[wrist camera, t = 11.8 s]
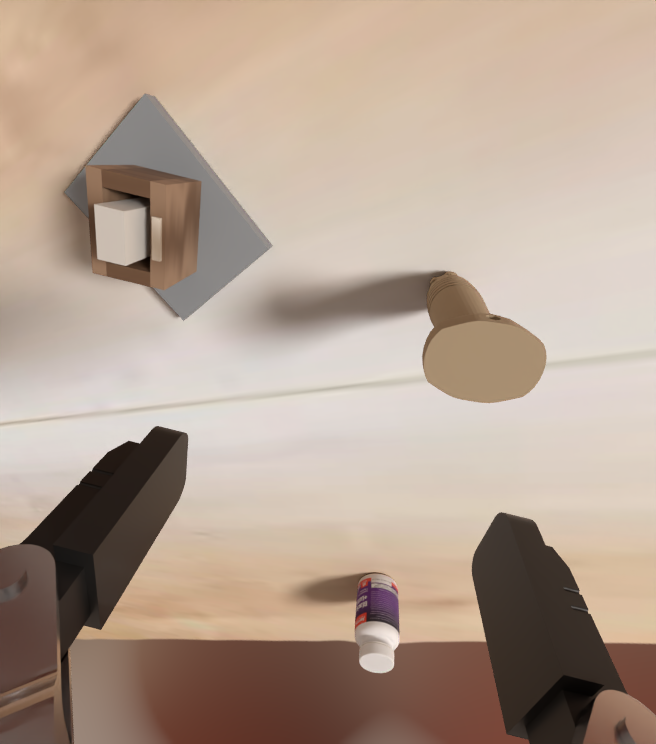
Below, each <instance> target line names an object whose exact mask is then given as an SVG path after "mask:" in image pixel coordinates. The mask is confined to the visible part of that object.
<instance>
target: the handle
mask: <svg viewBox="0 0 656 744" xmlns="http://www.w3.org/2000/svg"><path fill="white" fill-rule="evenodd" d="M427 308H428V313H429V316H430V319H431V322H432V324H433V326H434V328H433V330H432V331H431V332H430V334H429V336H428V337H427V339H426V342H425V345H424V349H423V356H422V357H423V369H424V373H425V376H426V379H427V381H428V382H429V383H430V384H432V385H433V386H435V387H436V388H438V389H440V390H441V391H443V392H444V393H446V394H448V395H450V396H452V397H454V398H458V399H462V400H468V401H474V402H482V403H494V402H501V401H506V400H511V399H515V398H520V397H523V396H525V395H526V394H527V393H529V392H530V391H531V390H532V389H533V388H534V387H535V385H536V384H537V383H538V381H539V380H540V378H541V376H542V374H543V371H544V368H545V365H546V350H545V347H544V344H543V343H542V342H541V341H540V340H539V339H538V338H537V337H536V336H534V335H533V334H532V333H530V332H529V331H528V330H526V329H525V328H523V327H522V326H520V325H519V324H517V323H515V322H514V321H512V320H510V319H507V318H504V317H501V316H497V315H493V314H490V313H489V311H488V309H487V307H486V305H485V302H484V300H483V298H482V297H481V295H480V294H479V292H478V291H477V290H476V289H475V287H474V286H473V285H471V284H470V283H469V282H468V281H467V280H465V279H464V278H462V277H459V276H457V274H456V273H454V272H450V271H448V272H446V273H445V274H444V275H442V276H439V277H433V278H432V279H431V281H430V288H429V291H428V293H427Z"/></svg>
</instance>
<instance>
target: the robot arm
mask: <svg viewBox="0 0 656 744" xmlns="http://www.w3.org/2000/svg"><path fill="white" fill-rule="evenodd" d="M187 449H188V435H187V433H184V432H180V431H176V430H172V429H168V428H164V427H160V426H156V427H154V428H153V429H152V430H151V431H150V433H149V434H148V435H147V436H146V437H145V438H144V439H143V441H142V442H141V443H140V444H139V443H135V442H131V441H128V442H126V443H124V444H122V445H120V446H119V447H117V448H115V449H113V450H111V451H109V452H108V453H107V454H106V455H105V456H104V457H103V458H102V459H101V460H100V461H99V462H98V463H97V464H96V465H95V466H94V468H93V470H92V472H91V471H90V472H89V473H88V474H87V475H86V476H85V477H84V478H83V479H82V480H81V481H80V484H79V485H76V487H75V488H74V489H73V490H72V491H71V492H70V493H69V494H68V495H67V496H66V497H65V498H64V499H63V500H62V501H61V502H60V503H59V504H58V506H57V507H56V508H55V509H54V510H53V511H52V512H51V513H50V514H49V515H48V516H47V517H46V518H45V519H44V520H43V521H42V522H41V524H40V525H39V526H38V527H37V528H36V529H35V530H34V531H33V532H32V533H31V534H30V535H29V536H28V537H27V538H26V539H25V540H24V541H23V542H22V543H20V544H19V545H13V546H8V547H5V548H2V549H0V744H74V729H73V707H72V684H71V660H70V646H71V644H72V643H73V641H74V640H75V638H76V637H77V635H78V633H79V632H80V630H81V629H82V627H83V626H88V627H92V628H96V629H100V630H101V629H102V627H103V626H104V624H105V622H106V621H107V619H108V617H109V616H110V614H111V612H112V611H113V609H114V607H115V606H116V604H117V602H118V601H119V599H120V597H121V596H122V594H123V592H124V591H125V589H126V587H127V586H128V584H129V582H130V581H131V579H132V577H133V576H134V574H135V572H136V571H137V569H138V567H139V566H140V564H141V562H142V561H143V559H144V557H145V556H146V554H147V552H148V551H149V549H150V547H151V546H152V544H153V542H154V541H155V539H156V537H157V536H158V534H159V533H160V531H161V529H162V528H163V526H164V524H165V523H166V521H167V519H168V518H169V516H170V514H171V513H172V511H173V509H174V508H175V506H176V504H177V503H178V501H179V499H180V496H181V494H182V491H183V488H184V485H185V480H186V467H187ZM472 576H473V581H474V586H475V590H476V595H477V600H478V604H479V609H480V614H481V618H482V623H483V627H484V632H485V637H486V641H487V646H488V650H489V655H490V659H491V664H492V668H493V673H494V678H495V683H496V687H497V691H498V696H499V701H500V705H501V710H502V714H503V719H504V724H505V728H506V733H507V734H508V735H512V736H516V737H520V738H524V739H528V740H529V743H530V744H656V716H655V715H654V714H653V713H652V712H651V711H650V710H649V709H648V708H647V707H645V706H644V705H643V704H642V703H640V702H639V701H638V700H636V699H634V698H633V697H631V696H629V695H628V694H627V692H626V690H625V688H624V686H623V684H622V682H621V680H620V678H619V675H618V673H617V671H616V669H615V666H614V664H613V662H612V660H611V658H610V656H609V653H608V651H607V649H606V647H605V645H604V643H603V640H602V638H601V636H600V634H599V632H598V629H597V627H596V625H595V623H594V621H593V619H592V616H591V614H588V608H587V606H586V603H585V601H584V599H583V597H582V595H580V594H579V591H580V590H579V588H578V586H577V584H576V582H575V579H574V577H573V575H572V573H571V571H570V569H569V567H568V566H567V565H566V564H565V562H564V561H563V560H562V559H561V557H560V556H559V555H558V554H557V552H556V551H555V550H554V549H553V547H550V546H546V545H545V543H544V541H543V538H542V536H541V534H540V531H539V529H538V527H537V525H536V523H535V522H534V521H533V520H531V519H527V518H523V517H519V516H515V515H511V514H507V513H502V512H501V513H499V514H497V515H496V517H495V518H494V520H493V522H492V523H491V525H490V527H489V529H488V530H487V532H486V534H485V535H484V537H483V539H482V541H481V542H480V544H479V546H478V547H477V549H476V551H475V553H474V557H473V562H472Z"/></svg>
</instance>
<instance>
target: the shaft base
mask: <svg viewBox="0 0 656 744" xmlns="http://www.w3.org/2000/svg"><path fill="white" fill-rule="evenodd" d="M87 165H137V166H141V167H145V168H149V169H153V170H157V171H162V172H166V173H170V174H174V175H178V176H182V177H186V178H190V179H195V180H199V181H202V183H201V201H200V219H199V237H198V255H197V271H196V272H195V273H193V274H191V275H190V276H188V277H186V278H185V279H183V280H181V281H179V282H178V283H176V284H174V285H173V286H171V287H169V288H167V289H166V290H161V289H157V288H154V289H155V291H156V292H157V293H158V294H159V295H160V296H161V297H162V298H163V299H164V300H165V301H166V302H167V303H168V305H169V306H170V307H171V308H172V309H173V310H174V311H175V312H176V313H177V314H178V315H179V316H180V317H181V319H182V320H183V321H184V320H185V319H186V318H187V317H189V316H190V315H191V314H192V313H194V312H195V311H196V310H197V309H198V308H200V307H201V306H202V305H203V304H204V303H205V302H207V301H208V300H209V299H210V298H211V297H213V296H214V295H215V294H216V293H217V292H219V291H220V290H221V289H222V288H223V287H224V286H226V285H227V284H228V283H229V282H230V281H232V280H233V279H234V278H235V277H236V276H238V275H239V274H240V273H241V272H242V271H243V270H245V269H246V268H247V267H248V266H249V265H251V264H252V263H253V262H254V261H255V260H257V259H258V258H259V257H260V256H261V255H262V254H264V253H265V252H266V251H267V250H268V249H270V248H271V247H272V244H271V243H270V242H269V241H268V239H267V238H266V237H265V236H264V234H263V233H262V232H261V231H260V229H259V228H258V227H257V225H256V224H255V223H254V222H253V220H252V219H251V218H250V217H249V215H248V214H247V213H246V211H245V210H244V209H243V208H242V206H241V205H240V204H239V203H238V201H237V200H236V199H235V198H234V196H233V195H232V194H231V192H230V191H229V190H228V189H227V187H226V186H225V185H224V184H223V182H222V181H221V180H220V178H219V177H218V176H217V175H216V173H215V172H214V171H213V170H212V168H211V167H210V166H209V165H208V163H207V162H206V161H205V159H204V158H203V157H202V156H201V154H200V153H199V152H198V151H197V149H196V148H195V147H194V145H193V144H192V143H191V142H190V140H189V139H188V138H187V137H186V135H185V134H184V133H183V132H182V130H181V129H180V128H179V126H178V125H177V124H176V123H175V121H174V120H173V119H172V118H171V116H170V115H169V114H168V112H167V111H166V110H165V109H164V107H163V106H162V105H161V104H160V102H159V101H158V100H157V99H156V97H155V96H151V95H148V94H144V95H143V97H142V98H141V99H140V100H139V101H138V103H137V104H136V105H135V106H134V108H133V109H132V110H131V111H130V112H129V114H128V115H127V116H126V117H125V119H124V120H123V121H122V122H121V123H120V125H119V126H118V127H117V128H116V130H115V131H114V132H113V133H112V134H111V136H110V137H109V138H108V139H107V141H106V142H105V143H104V144H103V145H102V147H101V148H100V149H99V150H98V152H97V153H96V154H95V155H94V156H93V158H92V159H91V160H90V161H89V163H88V164H87ZM64 193H65V194H66V195H67V196H68V197H69V198H70V199H71V200H72V201H73V202H74V203H75V204H76V206H77V207H78V208H79V209H80V210H81V211H82V212H83V213H84V214H85V215H86V216H87V217H88V218H89V212H88V198H87V184H86V169H85V167H84V169H83V170H82V171H81V172H80V174H79V175H78V176H77V177H76V178H75V180H74V181H73V182H72V183H71V185H70V186H69V187H68V188H67V189H66V191H65V192H64ZM94 212H95V228H96V244H97V259H99V260H103V261H107V262H111V263H115V264H119V265H123V266H127V265H129V264H132V263H134V262H137V261H139V260H142V259H144V258H147V257H149V256H150V198H146V197H140V198H133V199H126V200H120V201H113V202H106V203H99V204H94Z"/></svg>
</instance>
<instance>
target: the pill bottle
mask: <svg viewBox="0 0 656 744" xmlns="http://www.w3.org/2000/svg"><path fill="white" fill-rule="evenodd" d="M355 639H356V642H357V644H358V645H359V646H360V652H359V663H360V665H361V666H362V667H363V668H364V669H366V670H368V671H371V672H375V673H385V672H388V671H390V670H391V669H393V667H394V651H393V650H395V649H396V647H397V646H398V644H399V608H398V587H397V584H396V582H395V581H394V580H393V579H392V578H391V577H389V576H387V575H384V574H376V573H374V574H368V575H365V576H363V577H362V578H361V579H360V581H359V583H358V589H357V604H356V618H355Z"/></svg>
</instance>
